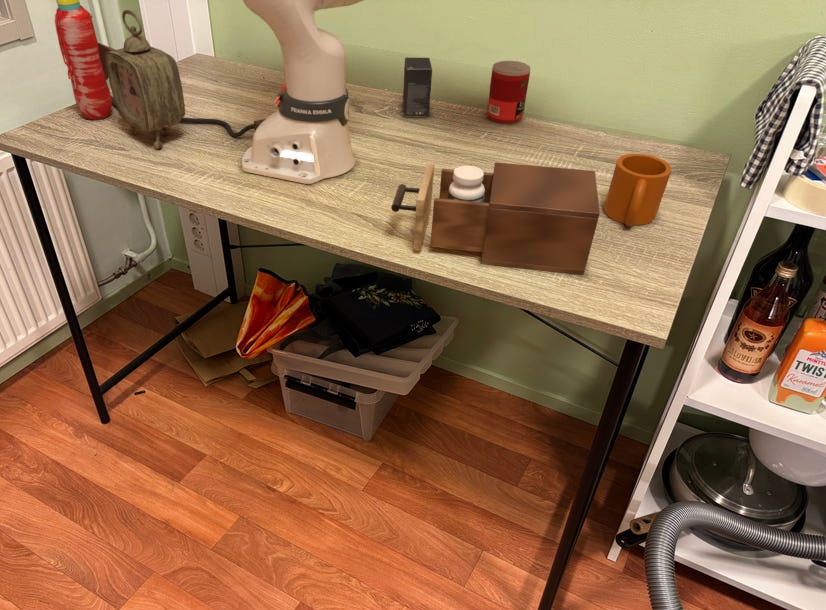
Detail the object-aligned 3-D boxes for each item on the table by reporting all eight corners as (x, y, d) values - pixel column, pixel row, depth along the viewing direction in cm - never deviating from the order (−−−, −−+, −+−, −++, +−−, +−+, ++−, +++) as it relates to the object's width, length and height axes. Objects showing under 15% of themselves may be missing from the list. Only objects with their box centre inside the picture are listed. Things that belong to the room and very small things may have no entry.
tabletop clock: (121, 133, 147) (91, 7, 130) (158, 121, 151) (133, -2, 135) (156, 154, 139) (128, 23, 122) (193, 142, 143) (172, 13, 127)
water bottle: (111, 101, 161) (83, -17, 144) (134, 108, 157) (108, -12, 140) (69, 118, 153) (34, -5, 137) (92, 126, 150) (59, 1, 133)
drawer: (387, 246, 110) (388, 197, 104) (399, 208, 119) (401, 161, 114) (505, 259, 107) (513, 209, 101) (508, 219, 116) (516, 171, 110)
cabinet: (481, 264, 108) (489, 202, 101) (486, 220, 118) (494, 162, 111) (583, 275, 105) (599, 213, 98) (580, 229, 115) (595, 170, 108)
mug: (591, 225, 117) (603, 176, 111) (611, 196, 124) (623, 149, 118) (644, 239, 113) (660, 189, 107) (661, 208, 121) (677, 160, 115)
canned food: (522, 125, 148) (530, 73, 141) (485, 122, 149) (491, 71, 142) (522, 111, 154) (531, 61, 146) (487, 109, 155) (493, 59, 148)
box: (429, 117, 152) (432, 68, 145) (403, 117, 152) (406, 68, 145) (426, 104, 158) (429, 56, 151) (402, 104, 158) (404, 56, 151)
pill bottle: (449, 216, 115) (455, 161, 108) (482, 222, 114) (490, 166, 107) (441, 233, 111) (446, 177, 104) (476, 239, 110) (483, 182, 103)
